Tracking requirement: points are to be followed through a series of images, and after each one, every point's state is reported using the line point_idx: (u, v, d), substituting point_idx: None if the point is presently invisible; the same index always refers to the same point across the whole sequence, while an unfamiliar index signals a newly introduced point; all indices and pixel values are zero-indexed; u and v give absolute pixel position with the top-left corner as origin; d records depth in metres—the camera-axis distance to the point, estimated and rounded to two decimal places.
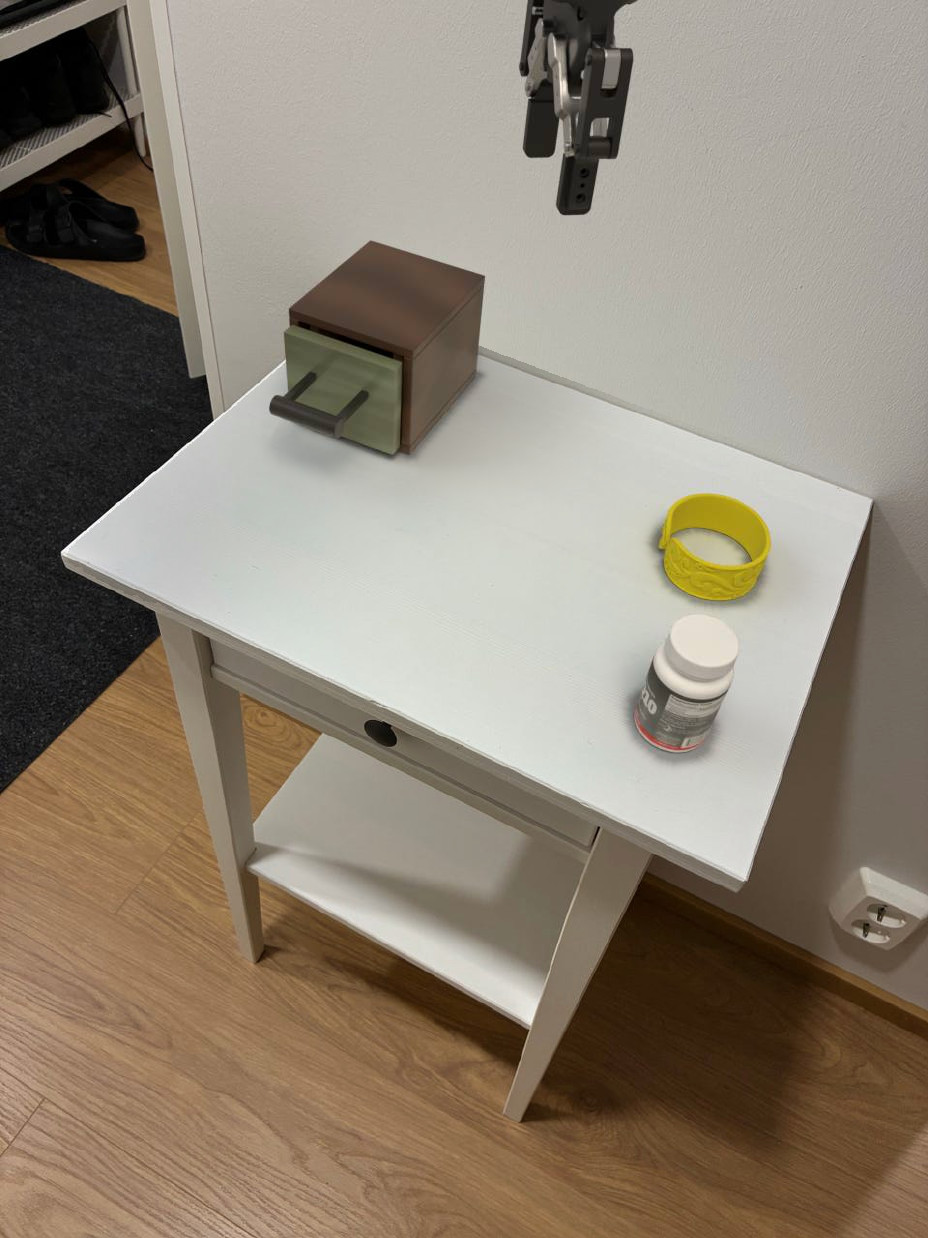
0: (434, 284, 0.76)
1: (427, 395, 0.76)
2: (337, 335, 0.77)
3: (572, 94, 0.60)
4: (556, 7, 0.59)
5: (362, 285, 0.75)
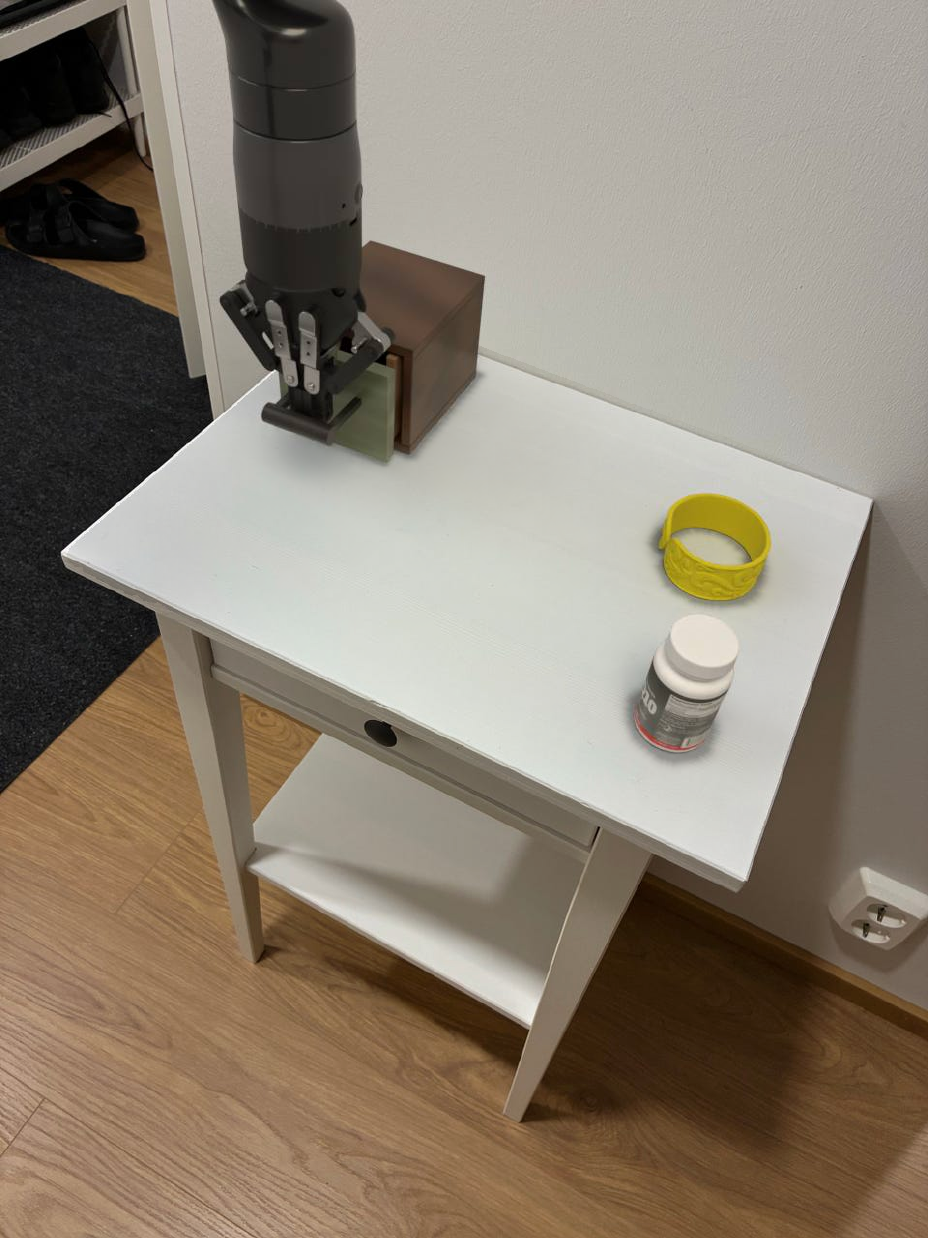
0: (434, 284, 0.76)
1: (427, 395, 0.76)
2: None
3: (332, 347, 0.65)
4: None
5: (362, 285, 0.75)
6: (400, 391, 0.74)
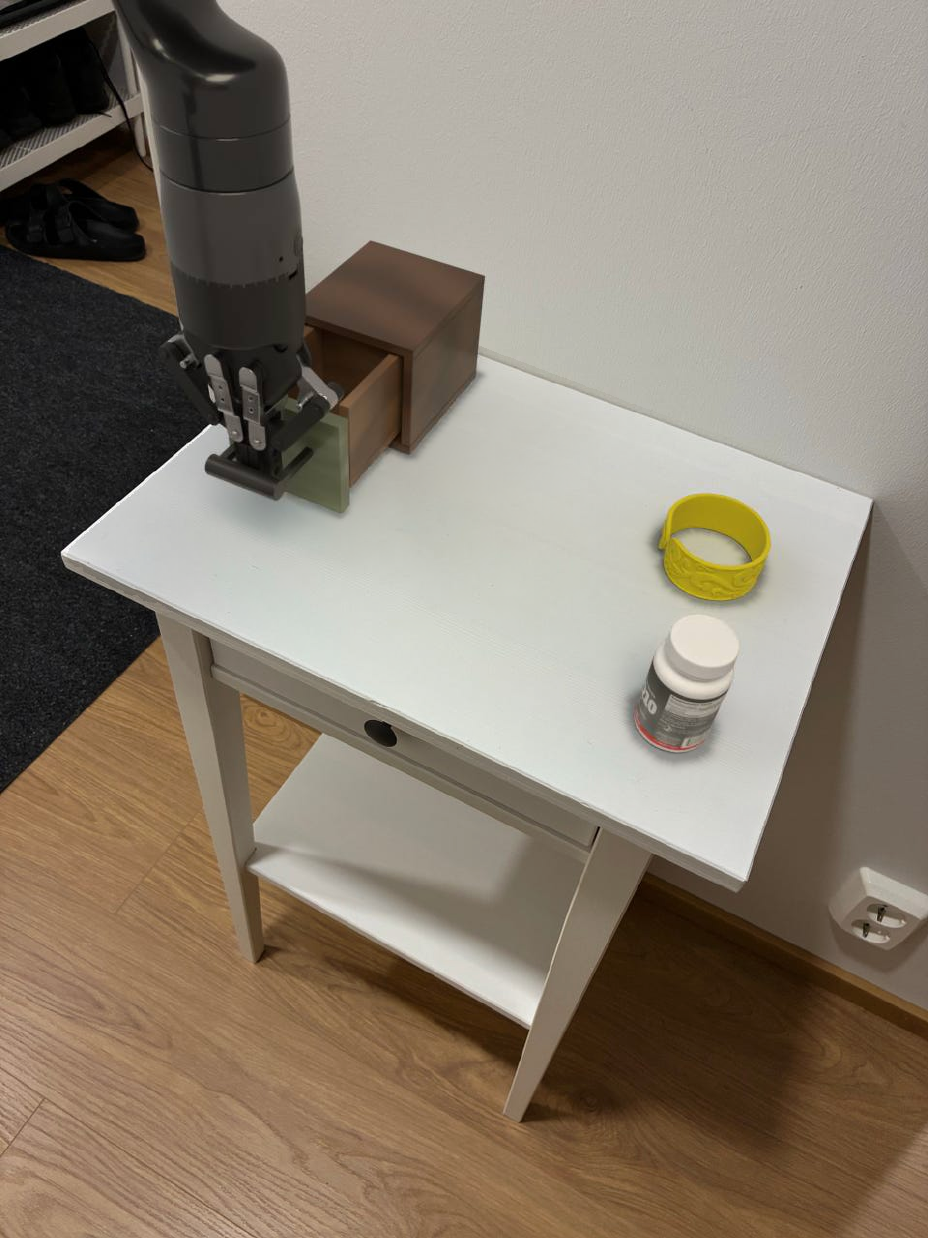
0: (434, 284, 0.76)
1: (427, 395, 0.76)
2: None
3: (277, 402, 0.61)
4: None
5: (362, 285, 0.75)
6: (355, 439, 0.70)
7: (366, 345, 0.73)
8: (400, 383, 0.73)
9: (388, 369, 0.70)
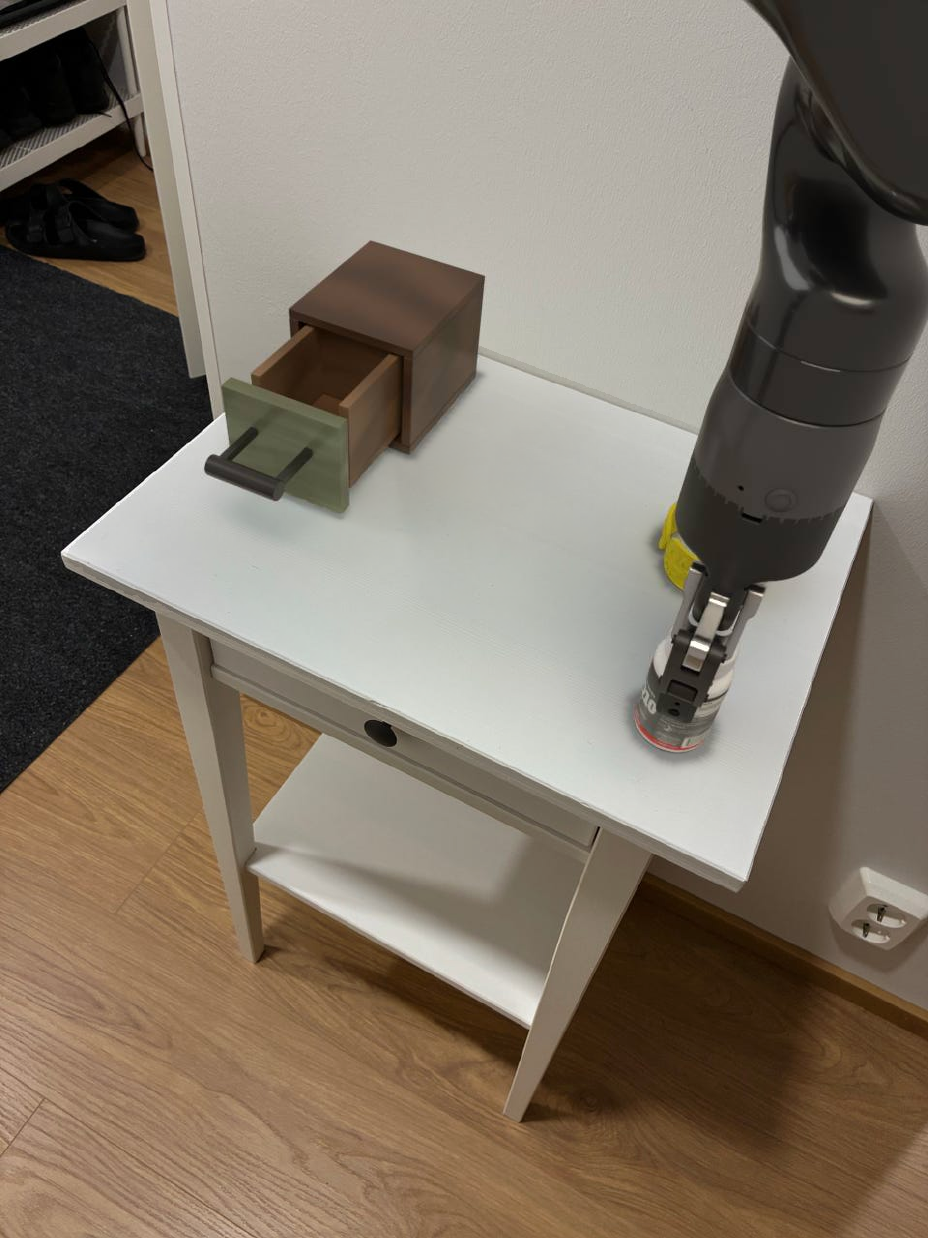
0: (434, 284, 0.76)
1: (427, 395, 0.76)
2: (283, 385, 0.72)
3: None
4: None
5: (362, 285, 0.75)
6: (355, 439, 0.70)
7: (366, 345, 0.73)
8: (399, 384, 0.73)
9: (388, 369, 0.70)
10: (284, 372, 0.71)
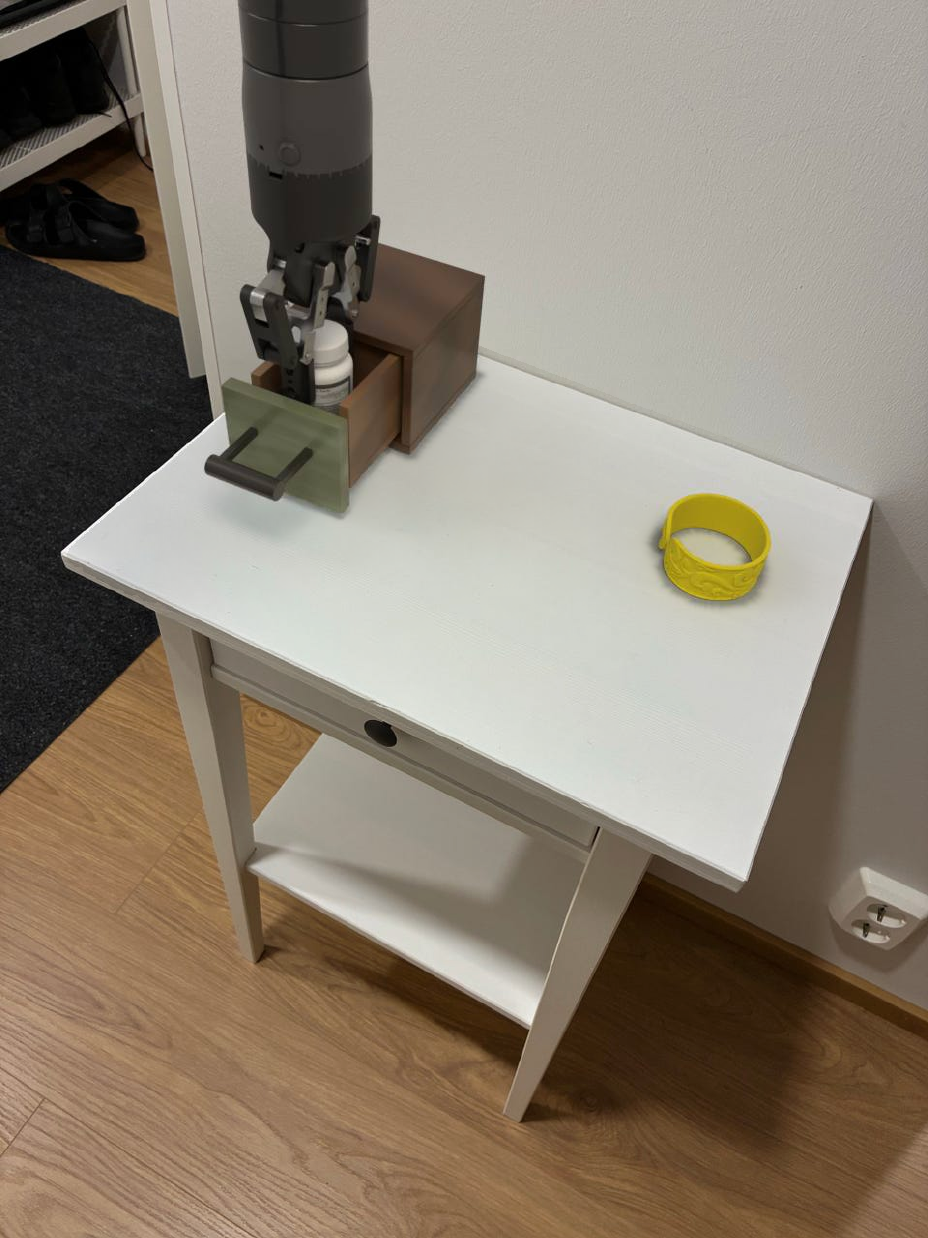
0: (434, 284, 0.76)
1: (427, 395, 0.76)
2: None
3: None
4: None
5: None
6: (355, 439, 0.70)
7: (366, 345, 0.73)
8: (399, 384, 0.73)
9: (388, 369, 0.70)
10: None
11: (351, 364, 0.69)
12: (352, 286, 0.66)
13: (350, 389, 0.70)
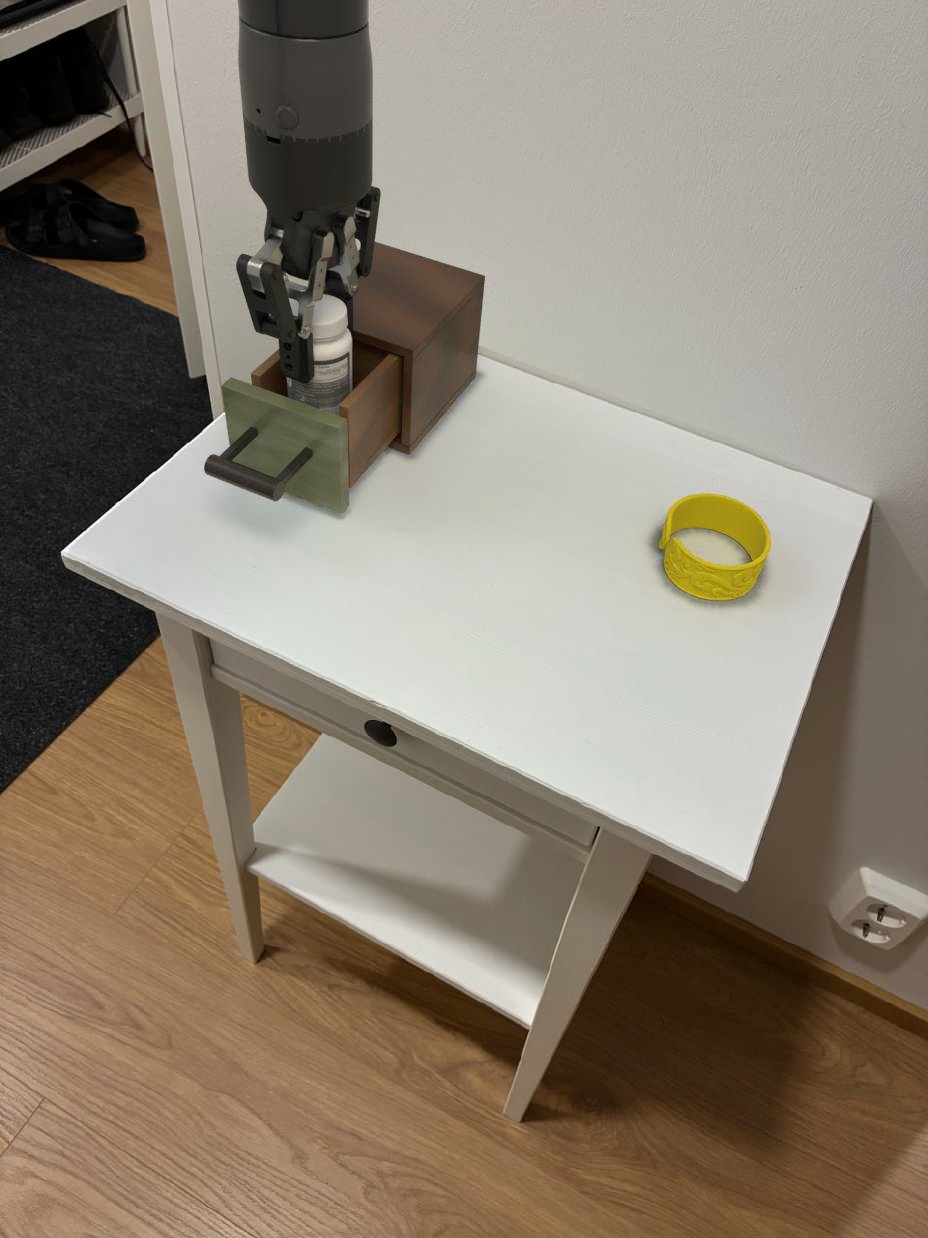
0: (434, 284, 0.76)
1: (427, 395, 0.76)
2: (283, 385, 0.72)
3: None
4: None
5: (362, 285, 0.75)
6: (355, 439, 0.70)
7: (366, 345, 0.73)
8: (399, 384, 0.73)
9: (388, 369, 0.70)
10: None
11: (350, 340, 0.67)
12: (352, 259, 0.64)
13: (349, 366, 0.68)
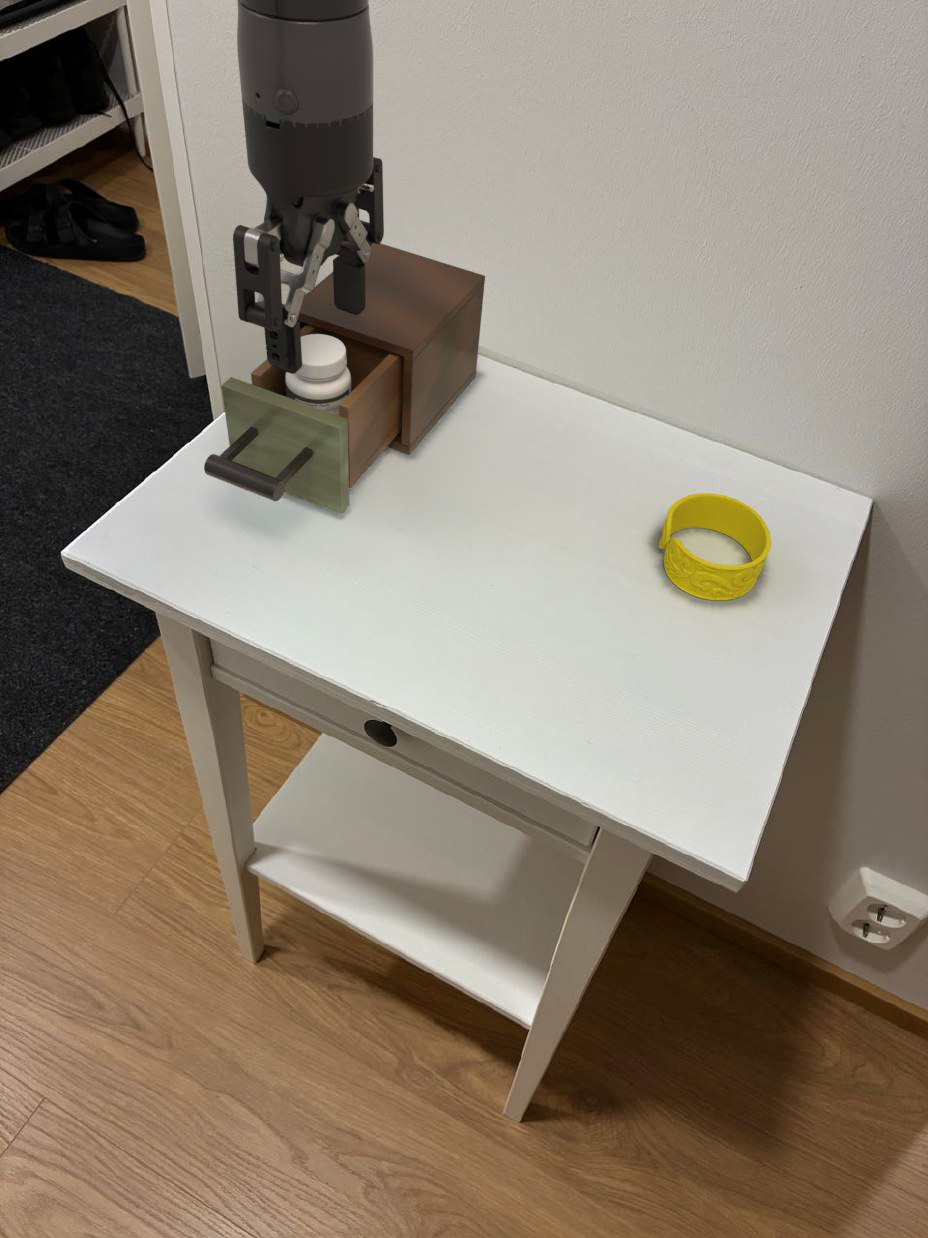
0: (434, 284, 0.76)
1: (427, 395, 0.76)
2: (283, 385, 0.72)
3: (290, 262, 0.61)
4: None
5: None
6: (355, 439, 0.70)
7: (366, 345, 0.73)
8: (399, 384, 0.73)
9: (388, 369, 0.70)
10: (284, 372, 0.71)
11: (349, 378, 0.70)
12: (359, 236, 0.64)
13: None
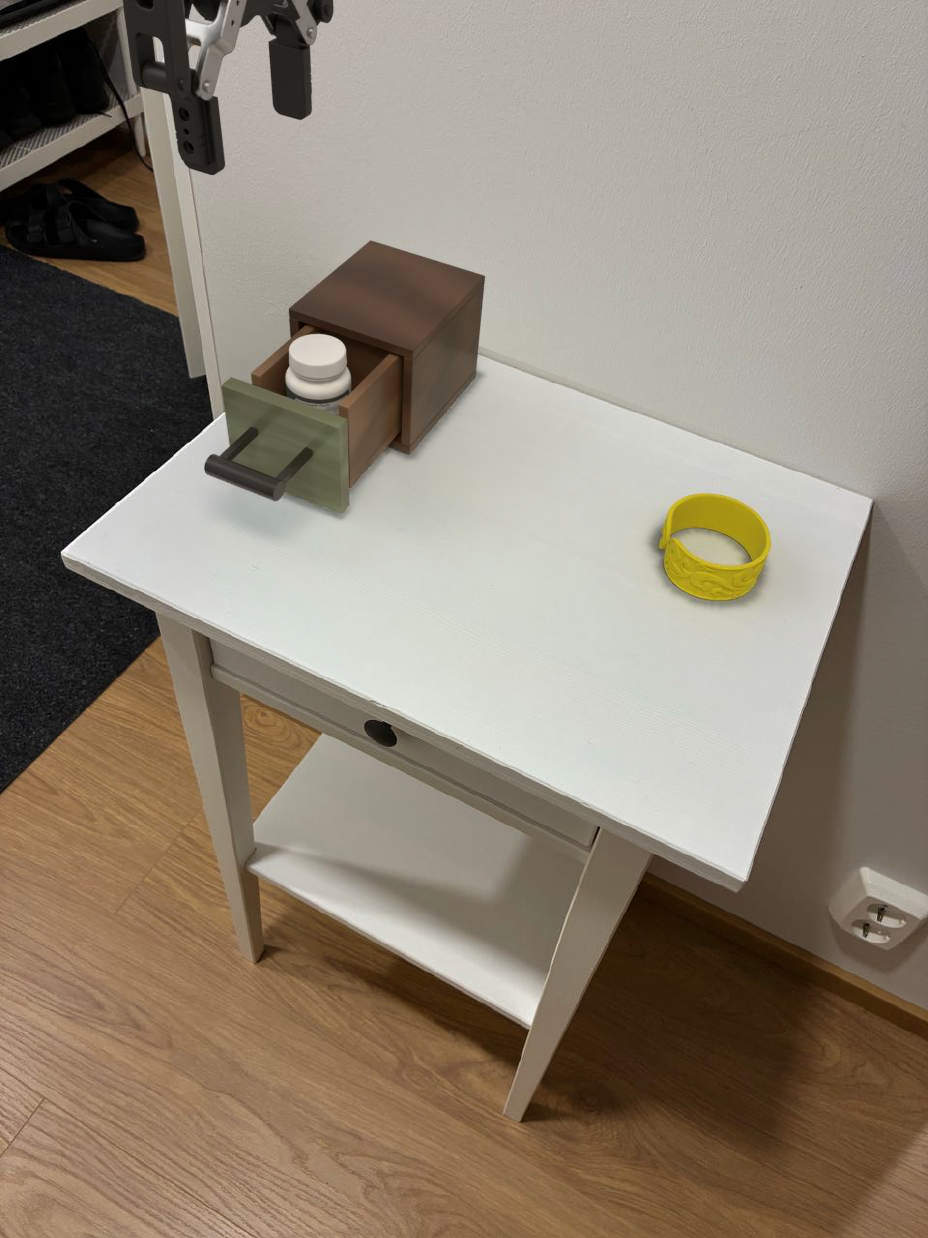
0: (434, 284, 0.76)
1: (427, 395, 0.76)
2: (283, 385, 0.72)
3: (203, 16, 0.47)
4: None
5: (362, 285, 0.75)
6: (355, 439, 0.70)
7: (366, 345, 0.73)
8: (399, 384, 0.73)
9: (388, 369, 0.70)
10: (284, 372, 0.71)
11: (350, 378, 0.70)
12: None
13: None
